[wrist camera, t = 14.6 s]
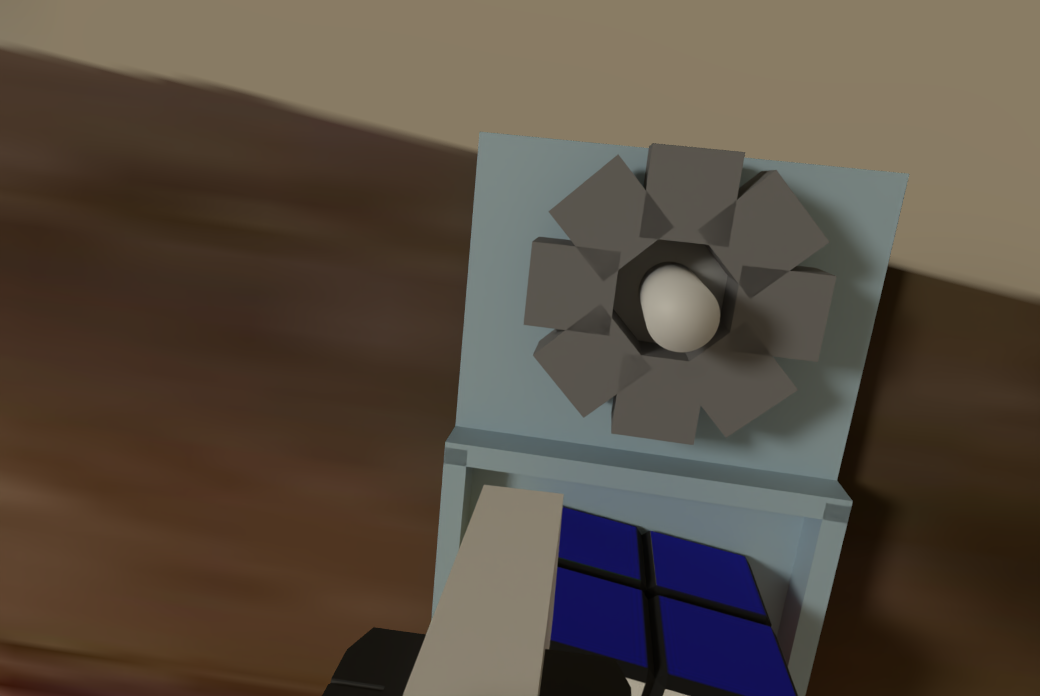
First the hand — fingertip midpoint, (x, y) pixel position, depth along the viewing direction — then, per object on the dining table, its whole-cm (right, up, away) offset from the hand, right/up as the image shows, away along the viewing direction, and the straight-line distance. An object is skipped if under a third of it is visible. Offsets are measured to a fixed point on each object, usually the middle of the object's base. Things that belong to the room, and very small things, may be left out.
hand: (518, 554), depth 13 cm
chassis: (+5, -2, +20) cm, 20 cm away
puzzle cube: (+5, -9, +20) cm, 22 cm away
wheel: (+6, +6, +15) cm, 17 cm away
